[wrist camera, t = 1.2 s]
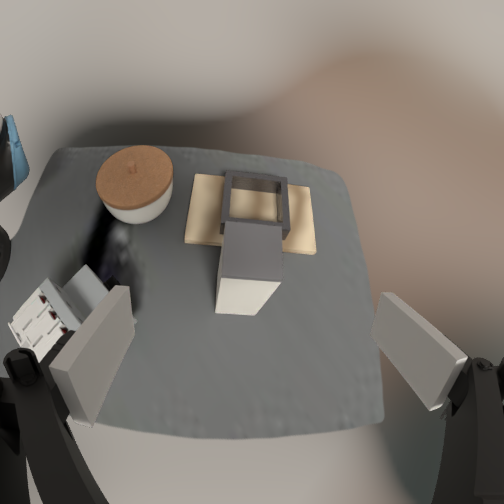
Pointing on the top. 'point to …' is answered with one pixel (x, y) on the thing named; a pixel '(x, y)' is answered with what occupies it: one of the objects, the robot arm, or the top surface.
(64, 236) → the top surface
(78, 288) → the circuit breaker
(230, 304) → the power strip
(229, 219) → the socket collar
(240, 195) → the mount board
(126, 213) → the lidded bowl
